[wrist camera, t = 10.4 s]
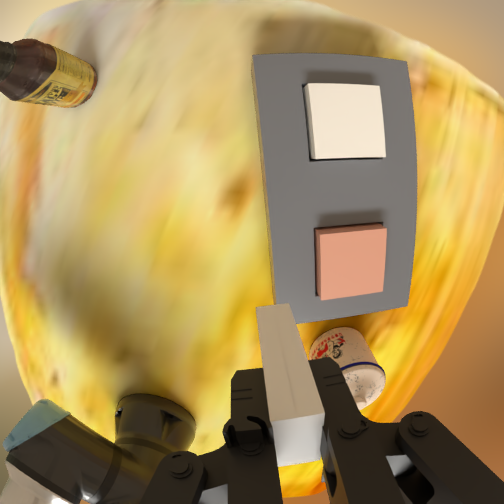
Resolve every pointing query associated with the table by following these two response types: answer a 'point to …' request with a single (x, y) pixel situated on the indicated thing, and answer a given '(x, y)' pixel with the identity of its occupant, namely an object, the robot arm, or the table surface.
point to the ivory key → (344, 120)
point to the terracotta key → (349, 259)
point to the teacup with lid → (352, 362)
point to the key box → (334, 179)
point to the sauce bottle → (44, 74)
